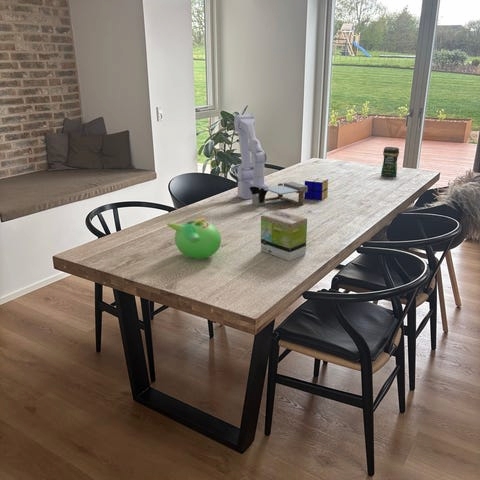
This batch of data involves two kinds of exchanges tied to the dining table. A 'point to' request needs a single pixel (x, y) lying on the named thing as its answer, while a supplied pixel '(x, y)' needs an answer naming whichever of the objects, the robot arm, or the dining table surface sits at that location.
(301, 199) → the frame
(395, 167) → the coffee jar
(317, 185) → the puzzle cube
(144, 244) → the dining table surface
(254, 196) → the grey cube
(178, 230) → the toy bird
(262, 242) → the tea box
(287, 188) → the trapdoor
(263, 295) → the dining table surface
